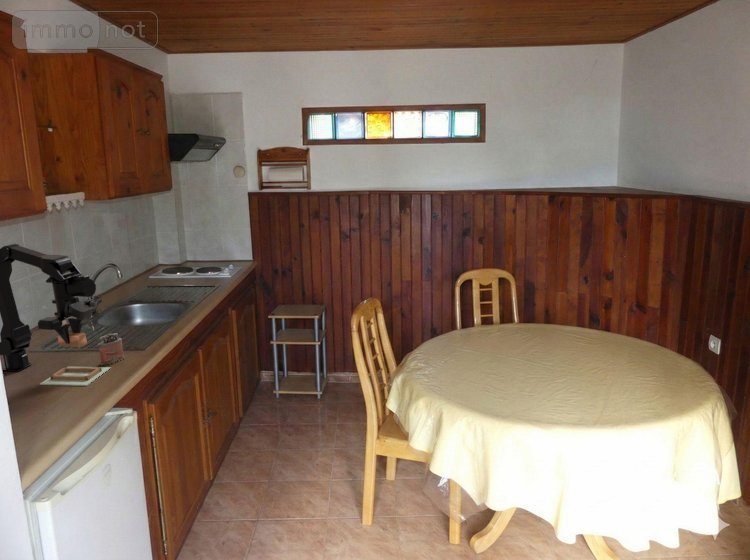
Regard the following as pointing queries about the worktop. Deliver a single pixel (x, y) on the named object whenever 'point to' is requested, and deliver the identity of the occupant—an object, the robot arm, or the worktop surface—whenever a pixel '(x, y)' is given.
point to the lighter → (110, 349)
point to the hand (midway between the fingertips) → (72, 341)
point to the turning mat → (75, 376)
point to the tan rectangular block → (74, 340)
